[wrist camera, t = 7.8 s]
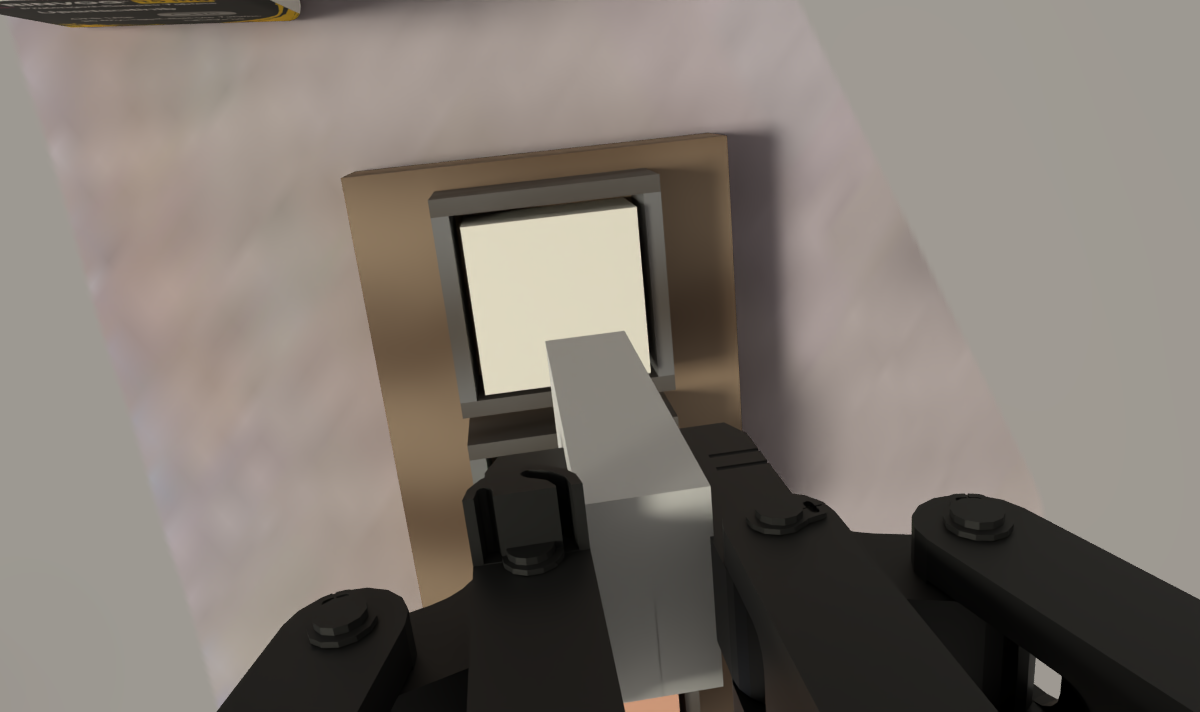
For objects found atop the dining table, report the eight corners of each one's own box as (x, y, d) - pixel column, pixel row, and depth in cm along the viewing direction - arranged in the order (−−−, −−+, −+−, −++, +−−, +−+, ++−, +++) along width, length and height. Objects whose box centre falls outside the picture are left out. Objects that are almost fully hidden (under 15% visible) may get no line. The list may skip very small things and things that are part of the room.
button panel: (354, 171, 27) (324, 186, 23) (707, 133, 28) (750, 138, 24) (458, 733, 34) (452, 834, 30) (739, 686, 35) (777, 776, 31)
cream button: (463, 215, 25) (460, 227, 23) (623, 197, 26) (636, 207, 23) (486, 369, 27) (485, 395, 25) (637, 349, 27) (650, 372, 25)
